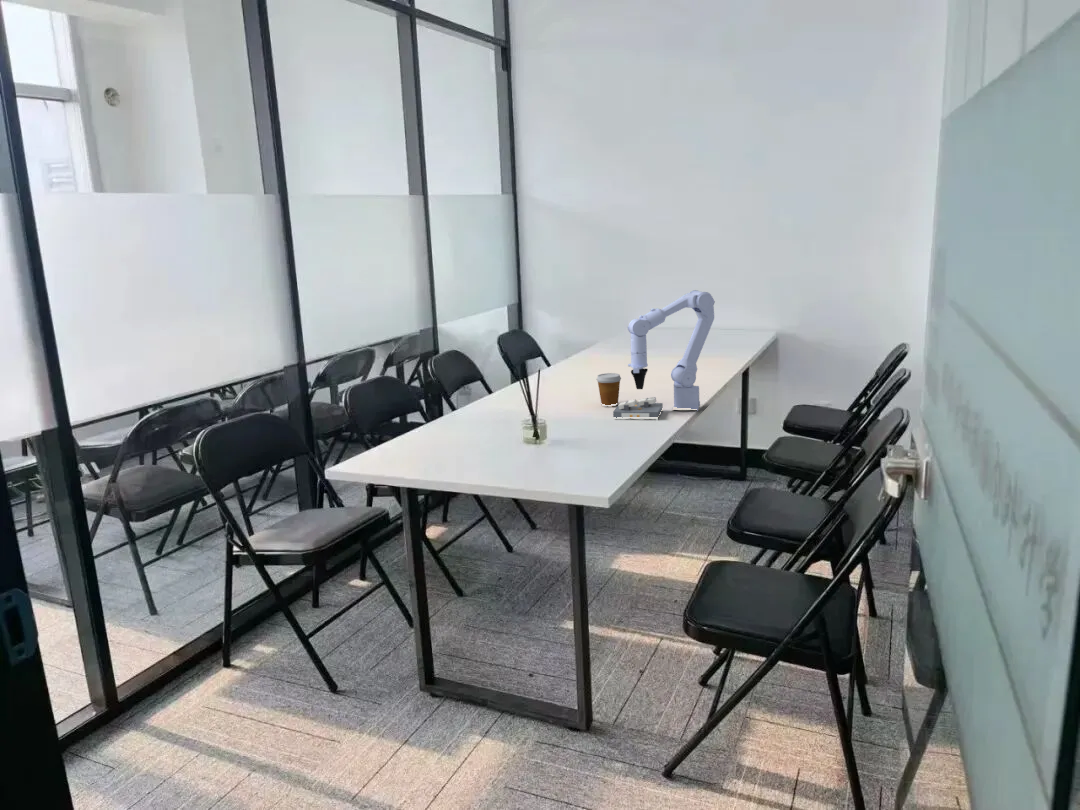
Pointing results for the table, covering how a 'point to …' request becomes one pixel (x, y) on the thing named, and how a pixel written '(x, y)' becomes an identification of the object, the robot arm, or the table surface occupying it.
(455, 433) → the table surface
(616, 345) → the table surface
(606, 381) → the disposable coffee cup
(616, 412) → the console
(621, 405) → the rocker
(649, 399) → the rocker
